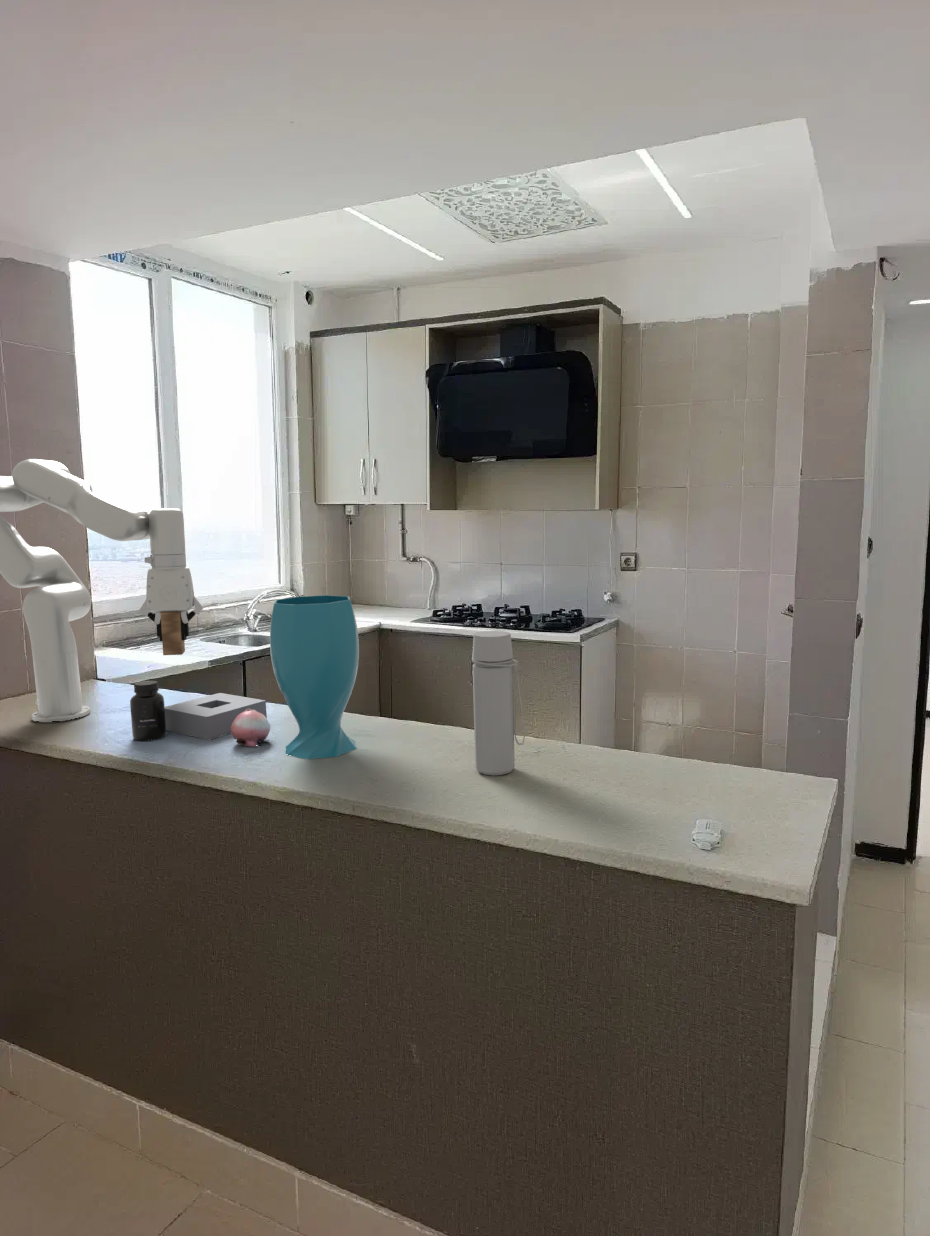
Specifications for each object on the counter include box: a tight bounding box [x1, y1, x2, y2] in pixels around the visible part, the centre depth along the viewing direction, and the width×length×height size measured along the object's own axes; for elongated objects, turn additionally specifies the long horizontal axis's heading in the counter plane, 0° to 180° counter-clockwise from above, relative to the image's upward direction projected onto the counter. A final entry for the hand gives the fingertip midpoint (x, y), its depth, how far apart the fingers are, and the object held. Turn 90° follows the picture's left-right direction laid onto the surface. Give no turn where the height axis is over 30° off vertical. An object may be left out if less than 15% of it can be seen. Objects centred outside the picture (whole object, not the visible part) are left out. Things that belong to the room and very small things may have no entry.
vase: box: [269, 594, 360, 760], centre depth 160 cm, size 17×17×30 cm
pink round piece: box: [230, 709, 271, 748], centre depth 166 cm, size 8×8×7 cm
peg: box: [161, 611, 186, 656], centre depth 188 cm, size 4×4×10 cm
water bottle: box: [471, 630, 526, 777], centre depth 143 cm, size 9×8×25 cm
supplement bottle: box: [129, 680, 167, 742], centre depth 173 cm, size 7×7×12 cm
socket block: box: [165, 692, 268, 741], centre depth 181 cm, size 16×16×5 cm
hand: (173, 639), depth 188 cm, fingers closed on peg, 4 cm apart
